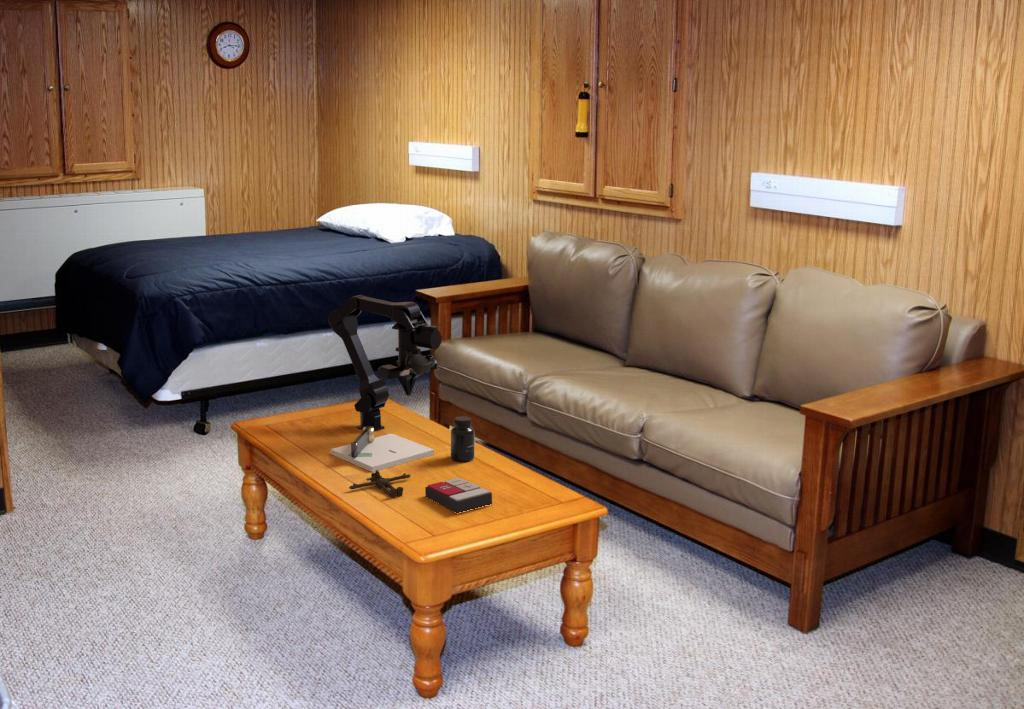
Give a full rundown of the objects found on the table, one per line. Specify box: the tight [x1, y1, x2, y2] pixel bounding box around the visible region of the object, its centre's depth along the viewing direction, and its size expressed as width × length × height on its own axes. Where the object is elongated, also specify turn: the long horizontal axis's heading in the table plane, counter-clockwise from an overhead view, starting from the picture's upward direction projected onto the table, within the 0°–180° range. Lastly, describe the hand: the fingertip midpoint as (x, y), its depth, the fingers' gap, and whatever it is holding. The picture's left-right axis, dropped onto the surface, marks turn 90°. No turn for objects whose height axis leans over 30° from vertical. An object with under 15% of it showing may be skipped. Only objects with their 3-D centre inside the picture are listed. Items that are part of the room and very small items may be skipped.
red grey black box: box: [424, 477, 493, 513], centre depth 278 cm, size 11×4×15 cm
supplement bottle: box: [450, 416, 476, 463], centre depth 308 cm, size 7×7×12 cm
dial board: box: [330, 433, 435, 473], centre depth 312 cm, size 20×22×2 cm
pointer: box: [350, 426, 375, 457], centre depth 311 cm, size 16×3×4 cm, turn 171°
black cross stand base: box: [348, 470, 411, 499], centre depth 285 cm, size 18×4×14 cm
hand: (408, 395), depth 325 cm, fingers closed
